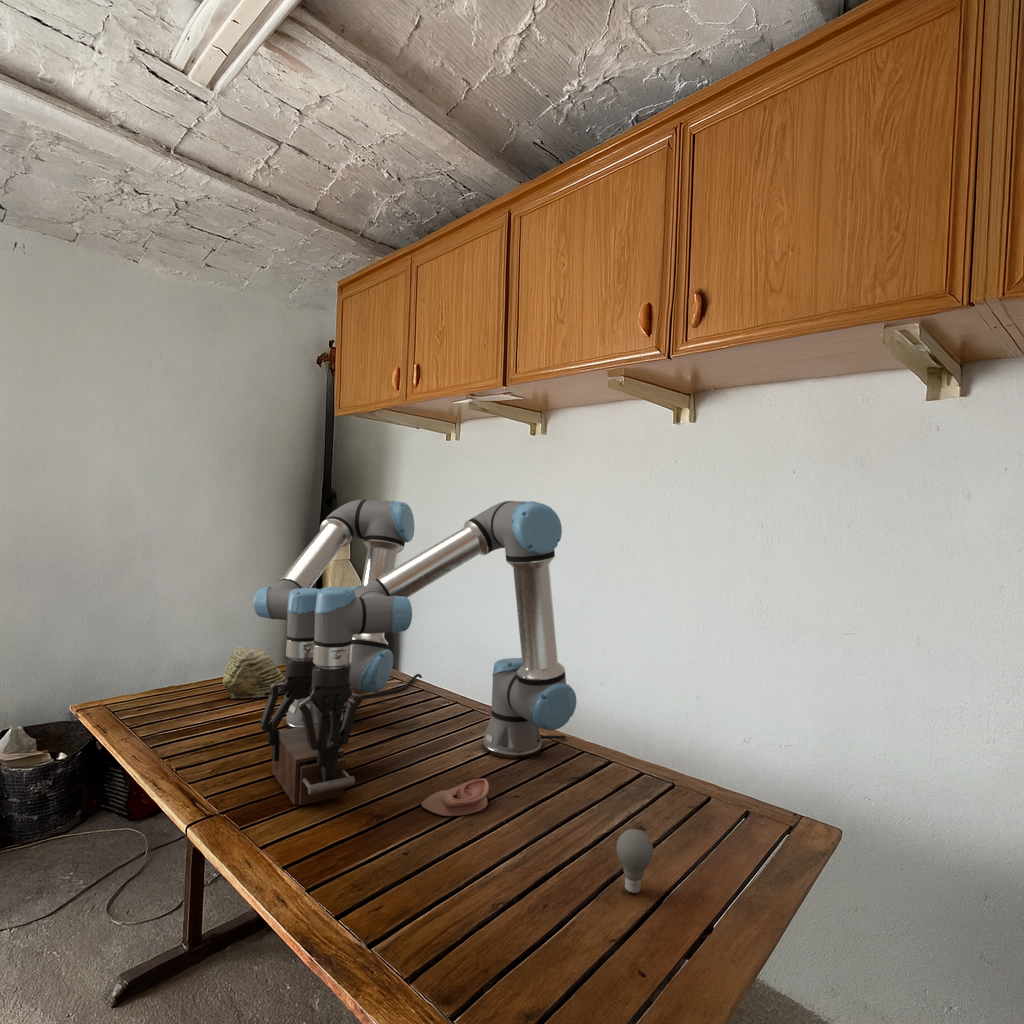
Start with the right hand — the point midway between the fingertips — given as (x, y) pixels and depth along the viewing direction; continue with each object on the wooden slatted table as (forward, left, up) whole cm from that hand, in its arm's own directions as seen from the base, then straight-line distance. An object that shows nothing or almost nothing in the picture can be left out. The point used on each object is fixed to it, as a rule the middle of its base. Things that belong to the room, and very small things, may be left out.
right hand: (326, 780), depth 128 cm
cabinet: (+1, -14, -6) cm, 15 cm away
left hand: (+2, -19, -2) cm, 20 cm away
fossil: (+3, -82, -6) cm, 82 cm away
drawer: (0, -8, -5) cm, 10 cm away
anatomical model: (-25, +8, -6) cm, 27 cm away
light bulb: (-40, +48, -6) cm, 62 cm away
